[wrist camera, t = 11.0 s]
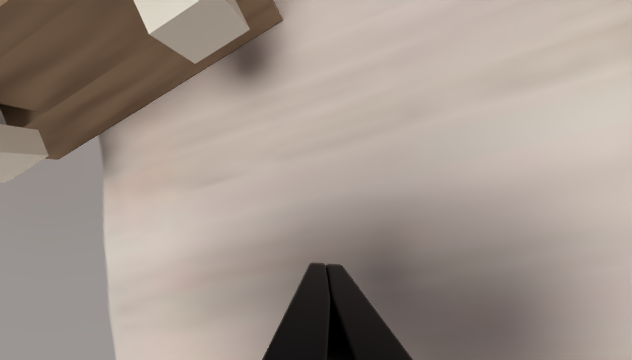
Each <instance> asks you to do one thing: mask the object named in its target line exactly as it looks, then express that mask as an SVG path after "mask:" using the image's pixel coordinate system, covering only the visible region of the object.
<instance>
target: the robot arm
mask: <svg viewBox="0 0 632 360" xmlns="http://www.w3.org/2000/svg"><path fill="white" fill-rule="evenodd" d="M262 360H413V359H412V358H411V357H410V355H409V354H408V353H407V351H406V350H405V349H404V347H403V346H402V345H401V343H400V342H399V341H398V339H397V338H396V337H395V335H394V334H393V333H392V331H391V330H390V329H389V327H388V326H387V325H386V323H385V322H384V321H383V319H382V318H381V317H380V315H379V314H378V313H377V311H376V310H375V309H374V307H373V306H372V305H371V303H370V302H369V301H368V299H367V298H366V297H365V295H364V294H363V293H362V291H361V290H360V289H359V287H358V286H357V285H356V283H355V282H354V281H353V279H352V278H351V277H350V275H349V274H348V273H347V271H346V270H345V269H344V267H343V266H342V265H339V264H327V265H325V264H324V263H310V264H309V266H308V268H307V270H306V272H305V274H304V276H303V278H302V280H301V282H300V284H299V286H298V288H297V290H296V292H295V294H294V296H293V298H292V300H291V302H290V305H289V307H288V309H287V311H286V313H285V315H284V317H283V319H282V321H281V323H280V325H279V327H278V329H277V331H276V333H275V335H274V337H273V339H272V341H271V343H270V345H269V347H268V349H267V351H266V353H265V355H264V357H263V359H262Z"/></svg>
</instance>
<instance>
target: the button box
mask: <svg viewBox="0 0 632 360" xmlns="http://www.w3.org/2000/svg"><path fill="white" fill-rule="evenodd" d="M235 1H236V2H237V4H238V6H239V8H240V10H241V12H242V14H243V16H244V18H245V20H246V22H247V25H248V27H249V29H250V30H248V31H247V32H245V33H244V34H242V35H240V36H239V37H237V38H236V39H234V40H233V41H231V42H229V43H228V44H226V45H225V46H223V47H221V48H220V49H218V50H217V51H215V52H213V53H212V54H210V55H209V56H207V57H205V58H204V59H202V60H201V61H199V62H197V63H196V64H194V63H193V62H191V61H190V60H188V59H187V58H185V57H184V56H182V55H180V54H179V53H177V52H176V51H174V50H173V49H171V48H170V47H168V46H167V45H165V44H163V43H162V42H160V41H159V40H157V39H156V38H154V37H153V36H151V35H149V33H148V31H147V29H146V27H145V24H144V22H143V20H142V18H141V16H140V13H139V11H138V9H137V7H136V5H135V3H134V0H0V109H1V112H2V114H3V117H4V119H5V122H6V124H7V125H9V126H15V127H22V128H28V129H35V130H38V131H39V133H40V135H41V138H42V140H43V143H44V145H45V148H46V150H47V153H48V155H49V156H48V157H46V158H45V159H60V158H62V157H63V156H65V155H66V154H68V153H70V152H71V151H73V150H74V149H76V148H78V147H79V146H81V145H83V144H84V143H86V142H87V141H89V140H91V139H92V138H94V137H95V136H97V135H99V134H100V133H102V132H103V131H105V130H107V129H108V128H110V127H112V126H113V125H115V124H116V123H118V122H120V121H121V120H123V119H124V118H126V117H128V116H129V115H131V114H132V113H134V112H136V111H137V110H139V109H141V108H142V107H144V106H145V105H147V104H149V103H150V102H152V101H153V100H155V99H157V98H158V97H160V96H161V95H163V94H165V93H166V92H168V91H170V90H171V89H173V88H174V87H176V86H178V85H179V84H181V83H182V82H184V81H186V80H187V79H189V78H190V77H192V76H194V75H195V74H197V73H199V72H200V71H202V70H203V69H205V68H207V67H208V66H210V65H211V64H213V63H215V62H216V61H218V60H219V59H221V58H223V57H224V56H226V55H227V54H229V53H231V52H232V51H234V50H236V49H237V48H239V47H240V46H242V45H244V44H245V43H247V42H248V41H250V40H252V39H253V38H255V37H256V36H258V35H260V34H261V33H263V32H265V31H266V30H268V29H269V28H271V27H273V26H274V25H276V24H277V23H279V22H281V21H282V20H283V19H282V17H281V15H280V13H279V11H278V9H277V7H276V5H275V3H274V1H273V0H235Z"/></svg>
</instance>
